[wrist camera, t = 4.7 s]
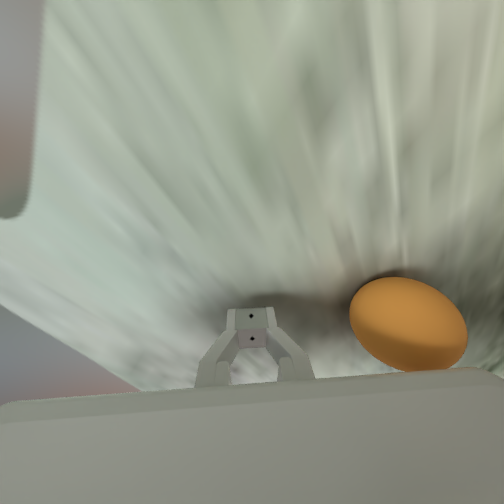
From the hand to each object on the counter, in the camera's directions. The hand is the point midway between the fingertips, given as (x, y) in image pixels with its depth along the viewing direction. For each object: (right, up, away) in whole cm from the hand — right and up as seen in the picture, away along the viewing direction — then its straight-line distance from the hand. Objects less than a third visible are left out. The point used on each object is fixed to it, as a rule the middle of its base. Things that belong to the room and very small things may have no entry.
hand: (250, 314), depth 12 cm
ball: (+9, 0, -1) cm, 9 cm away
